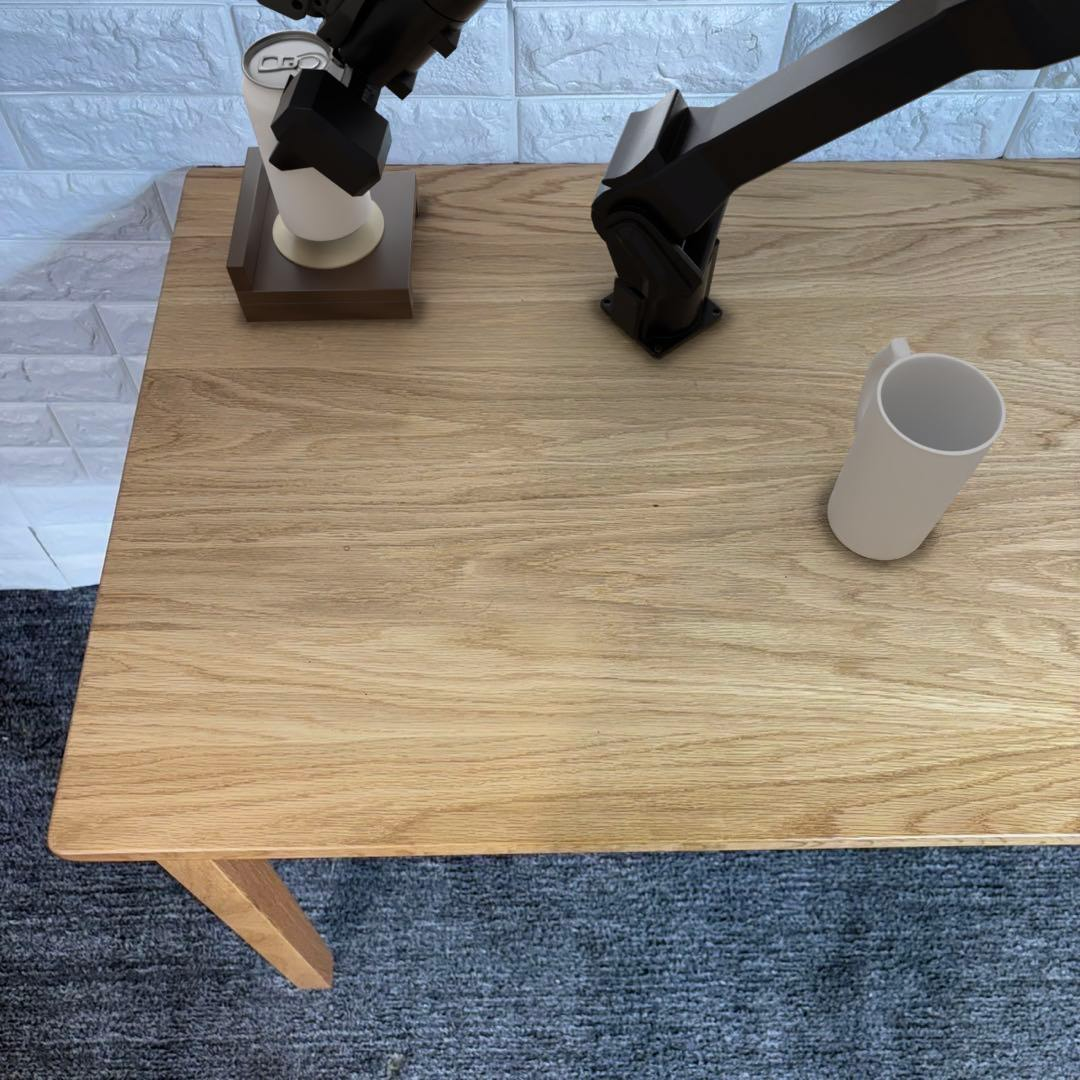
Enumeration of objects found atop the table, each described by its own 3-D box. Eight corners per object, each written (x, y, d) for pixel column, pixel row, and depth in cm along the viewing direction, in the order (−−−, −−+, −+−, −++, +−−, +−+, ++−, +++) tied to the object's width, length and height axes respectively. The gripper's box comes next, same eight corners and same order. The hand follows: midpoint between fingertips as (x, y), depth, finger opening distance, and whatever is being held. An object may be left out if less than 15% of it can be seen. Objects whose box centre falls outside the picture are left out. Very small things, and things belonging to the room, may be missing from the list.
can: (370, 244, 69) (336, 91, 59) (276, 246, 69) (226, 93, 59) (376, 180, 72) (345, 23, 62) (287, 182, 72) (241, 26, 62)
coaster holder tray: (419, 201, 78) (411, 143, 73) (413, 318, 72) (404, 263, 67) (265, 204, 78) (247, 146, 73) (246, 321, 72) (225, 266, 67)
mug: (946, 557, 62) (1027, 445, 52) (842, 573, 62) (902, 463, 51) (891, 427, 67) (954, 301, 57) (794, 441, 66) (840, 316, 56)
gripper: (351, -234, 55) (216, -43, 65) (265, -38, 46) (123, 148, 56) (501, -78, 61) (356, 73, 72) (451, 122, 52) (292, 262, 62)
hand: (287, 131), depth 65 cm, fingers closed on can, 6 cm apart
